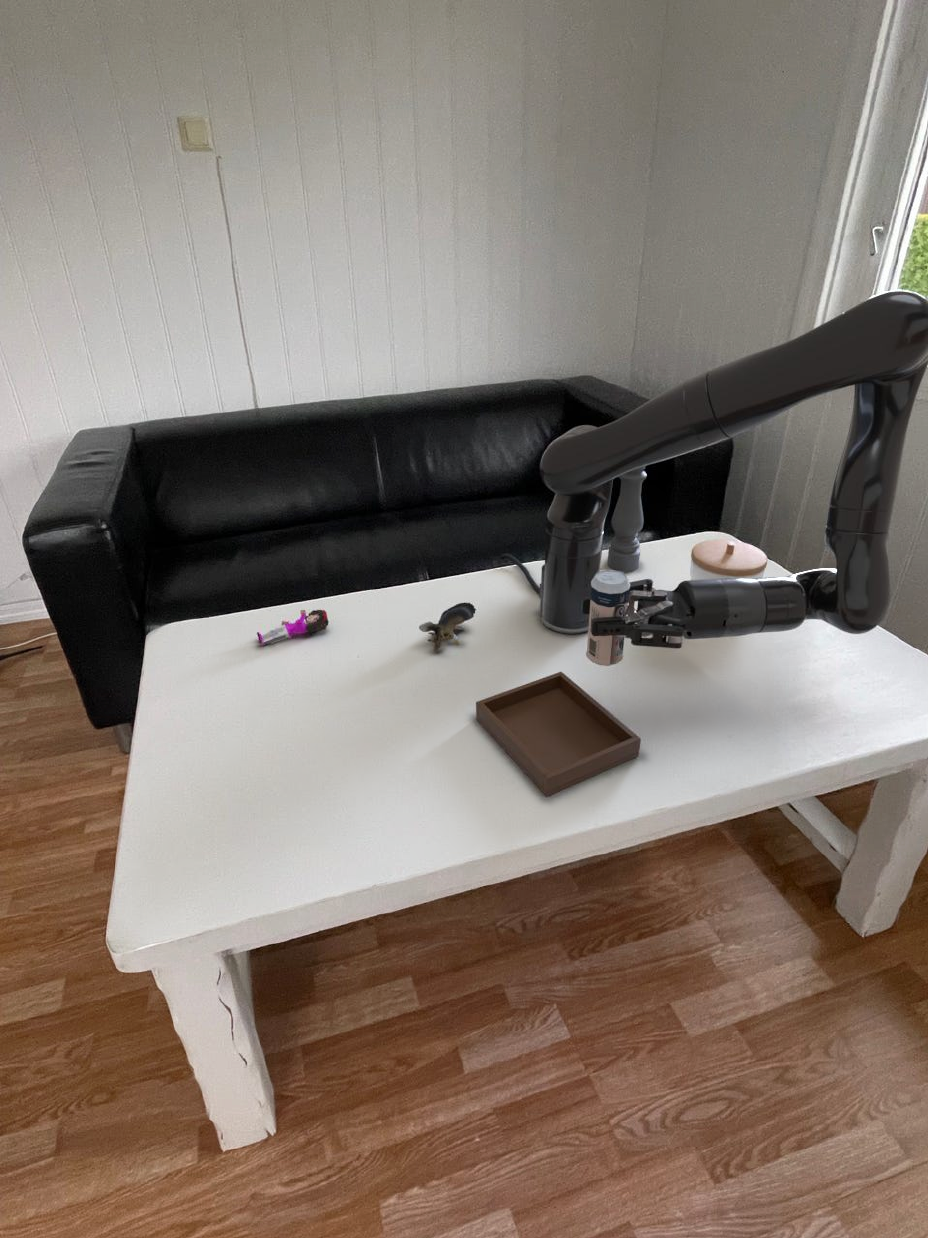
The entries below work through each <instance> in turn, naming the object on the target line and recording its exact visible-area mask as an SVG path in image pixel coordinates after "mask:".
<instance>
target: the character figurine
mask: <svg viewBox="0 0 928 1238" xmlns="http://www.w3.org/2000/svg"><path fill="white" fill-rule="evenodd" d="M329 623H330V622H329V619H328V613H327V611H326V610H325V609H315V610H314V609H313V610H312V611H310V612H308V615H307V611H306V610H305V609H301V610H300V617H299V619H296V620H295V621H294V622H293V623H292V622H291V621H290V620H288V621H286V620H281V625H279V626H277V627H274V628H273V629H271V630H269V631H267V632H265V633H263V634H262V633H260V632H259V631H257V632H256V635H257V638H258V641H259V644H260V646H261V647H264V646H266V645H269V644H274V643H276V642H279V641H282V640H285V639H291V638H292V637H293V635H295V634H299V635H300V634H301V635H302V634H305V633H307V634H308V636H313V635H316V634H319V633H320V632H322V631H324V630H327V627H328V626H329Z"/></svg>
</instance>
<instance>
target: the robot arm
mask: <svg viewBox="0 0 928 1238" xmlns="http://www.w3.org/2000/svg"><path fill="white" fill-rule="evenodd" d="M927 368H928V299H927V298H926V297H924V296H923V295H921V294H919V293H917V292H915V291H909V290H906V289H905V290H904V289H903V290H902V289H895V290H890V291H884V292H881V293H879V294H876V295H873V296H871V297H869V298H866V299H865V300H864V301H861V302H860V303H858V304H857V305H855V306H853V307H851V308H849V309H848V310H845V311H844V312H842V313H840V314H839V315H837V316H835V317H834V318H831V319H829V320H827V321H826V322H823V323H822V324H820V325H818V326H815V328H812V329H811V330H809V331H807V332H805V333H803V334H801V335H799V336H797V337H795V338H792V339H791V340H788V341H785V342H784V343H780V344H778V345H775V346H772V347H768V348H766V349H763V350H760V351H757V352H754V353H752V354H748V355H746V356H744V357H743V356H742V357H740V358H738V359H736V360H735V359H734V360H733V361H730V362H728V363H725V364H723V365H719V366H718V367H715V368H712V369H710V370H708V371H705V372H703V373H701V374H698V375H697V376H694V377H691V378H689V379H687V380H685V381H683V382H680V383H679V384H676V385H675V386H673V387H671V388H669V389H667V390H666V391H663V392H662V393H660V394H658V395H656V396H655V397H653V398H651V399H650V400H648V401H647V402H645V403H643V404H642V405H640V406H638V407H637V408H635V409H634V410H632V411H630V412H629V413H628V414H626V415H624V416H622V417H620V418H618V419H616V420H614V421H612V422H610V423H607V424H605V425H601V426H599V427H597V426H594V425H589V424H583V425H578V426H575V427H573V428H571V429H569V430H568V431H566V432H565V433H563V434H562V435H560V436H558V437H557V438H556V439H554V440H552V442H551V443H550V444H549V445H548V446H547V448H546V449H545V451H544V452H543V454H542V456H541V459H540V463H539V474H540V475H539V476H540V479H541V481H542V483H543V484H544V485H545V486H546V488H548V490H550V491H552V493H554V497H553V500H552V502H551V505H550V507H548V508H549V509H548V511H547V514H546V521H545V523H546V524H545V526H546V527H545V549H544V551H545V552H544V564H542V566H541V573H540V574H541V575H540V577H541V578H540V581H541V582H540V583H539V585H538V584H537V582H536V581H535V579H534V578H533V577H532V575H531V573H530V571H529V569H528V568H527V567H526V566H525V565H524V564H523V563H522V562H521V561H520V560H519V559H518V558H516V557H514V555H512V554H510V553H503V554H501V555H499V557H498V559H500V560H504V559H507V560H510V561H511V562H512V563H513V564H515V566H516V567H518V568H519V569H520V570H521V571H522V572H523V574H524V576H525V578H526V579H527V581H528V583H529V584H530V586H531V587H532V588H533V590H534V591H535V592H536V593H538V595H539V599H540V603H539V604H540V605H539V614H540V615H541V622H542V623H543V625H544V626H545V627H546V628H548V629H549V630H551V631H554V632H556V633H559V634H560V633H561V634H567V635H573V634H574V635H575V634H576V635H577V634H582V633H586V632H588V630H589V615H590V601H591V587H592V586H591V581H592V579H593V578H594V576H595V575H596V573H598V572H600V571H601V568H602V567H601V566H602V557H603V556H602V555H603V553H602V552H603V544H604V543H603V540H604V532H605V531H604V530H605V524H606V523H605V522H606V518H607V516H608V513H609V510H610V507H611V506H610V505H611V501H612V500H611V498H612V491H613V482H614V479H615V478H619V477H618V476H620V475H622V474H624V473H626V472H629V471H631V470H634V469H636V468H639V467H642V466H646V465H647V466H649V465H653V464H656V463H660V462H663V461H667V460H670V459H674V458H677V457H679V456H682V455H686V454H689V453H692V452H696V451H698V450H702V449H704V448H708V447H711V446H713V445H714V446H715V445H716V444H719V443H721V442H724V441H727V440H730V439H732V438H735V437H737V436H740V435H743V434H744V433H747V432H749V431H751V430H753V429H755V428H757V427H759V426H761V425H763V424H765V423H767V422H769V421H770V420H773V419H774V418H777V416H779V415H782V414H783V413H785V412H786V411H788V410H790V409H792V408H793V407H796V406H797V405H800V404H801V403H803V402H805V401H808V400H810V399H813V398H815V397H818V396H822V395H825V394H828V393H832V392H835V391H838V390H841V389H846V388H848V387H851V386H854V396H853V406H852V414H851V419H850V425H849V430H848V434H847V437H846V441H845V444H844V447H843V451H842V454H841V457H840V460H839V463H838V467H837V470H836V475H835V477H834V481H833V485H832V489H831V494H830V499H829V505H828V511H827V518H826V523H825V525H826V526H825V530H824V545H825V547H826V548H827V550H828V551H829V552H830V553H831V554H832V555H833V557H834V559H835V565H836V566H835V568H816V569H811V570H806V571H801V572H798V573H793V574H790V575H787V576H772V577H763V578H754V579H746V578H721V579H705V580H691V579H690V580H689V579H688V580H682V581H681V582H680V583H679V584H678V585H677V587H676V588H675V589H673V590H665V589H656V588H655V587H654V586H653V585H654V580H653V579H651V578H645V579H644V578H643V579H640V580H634V581H629V582H630V589H629V598H628V608H627V616H626V617H624V620H623V619H622V617H621V616H620V617H605V618H594V619H592V620H591V630H590V631H591V633H592V635H593V636H609V635H610V636H612V635H622V636H623V637H624V639H629V640H630V644H631V645H633V646H635V647H636V646H637V647H650V648H663V649H677V650H678V649H681V648H682V647H683V642H684V640H703V639H718V638H720V639H721V638H735V637H742V636H748V635H753V634H762V633H779V632H780V633H781V632H787V631H788V632H789V631H792V630H795V629H798V628H799V627H800V626H801V625H802V624H803V623H804V622H805V621H806V620H807V621H808V620H819V621H823V622H824V623H827V624H829V625H830V626H833V627H834V628H836V629H838V630H839V631H842V632H844V633H847V634H851V635H862V634H866V633H869V632H870V631H873V630H875V628H876V627H878V626H879V624H880V623H881V622H882V621H883V619H884V618H885V616H886V614H887V612H888V609H889V606H890V602H891V596H892V595H891V594H892V593H891V591H892V590H891V589H892V587H891V584H892V583H891V571H890V569H891V568H890V556H889V551H888V540H889V537H890V531H891V526H892V521H893V517H894V511H895V507H896V506H895V505H896V499H897V493H898V488H899V481H900V476H901V475H900V474H901V468H902V461H903V456H904V455H903V454H904V448H905V442H906V438H907V433H908V428H909V424H910V420H911V416H912V412H913V408H914V405H915V402H916V398H917V395H918V392H919V390H920V387H921V383H922V381H923V379H924V376H925V374H926V371H927ZM635 602H637V607H636V608H635V605H636V604H635ZM650 636H651V637H650Z"/></svg>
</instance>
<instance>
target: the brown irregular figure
mask: <svg viewBox="0 0 928 1238" xmlns="http://www.w3.org/2000/svg"><path fill="white" fill-rule="evenodd" d="M476 611H477V608H476V607H475V605H473V603H471V602H466V601H465V602H459V603H456V604H455V605H452V606H451V607H449V608H447V609H446V610H444V611H443V612H442V613H441V616H440V617H439V620H438V622H437V623H433V622H432V621H427V622H424V623H422V624H420V625H419V626H418V629H419V630H420V631H421V632H423V633H427V634H428V635H431V636H432V637H433V639H432V638H429V639H427V642H428V643H429V642H431V643H433V644H434V648H433V652H434V653H435V652H437V651H438V650H439V649H441V647H442V644H443V642H445V641H449V640H451V641H452V642H455V643H456V644H458V645H459V646H460V644H461V642H460V638H459V637H458V636H457V635H456V634H455V632H454V631H455V630H458V631H459V630H461V631H463V630H464V631H465V630H466V629H465V627H463V626H460V625H462V624H463V623H464V622H467V621H470V620H471V619H472V618H474V616H475V613H476Z"/></svg>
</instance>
